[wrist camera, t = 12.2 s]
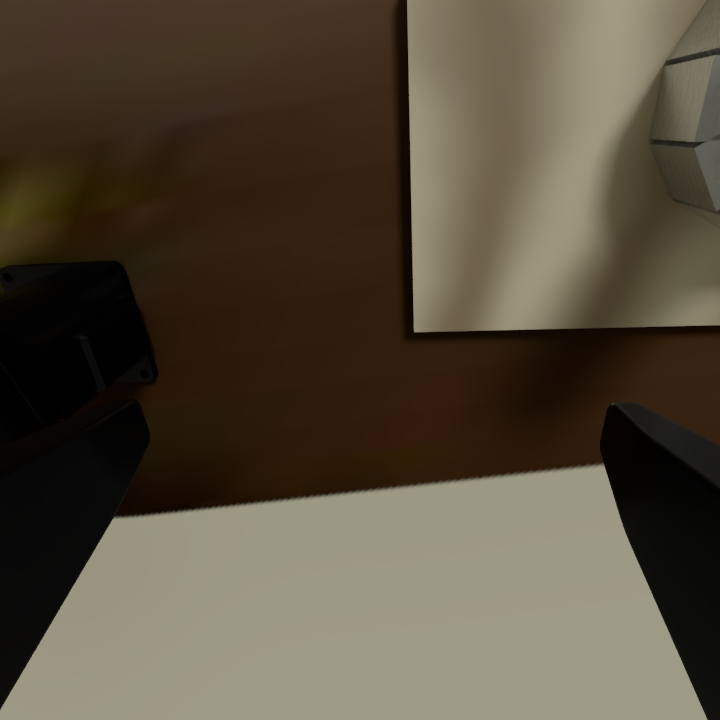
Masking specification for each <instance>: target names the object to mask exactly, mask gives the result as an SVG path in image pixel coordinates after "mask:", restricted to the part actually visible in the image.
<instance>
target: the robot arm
mask: <svg viewBox="0 0 720 720" xmlns="http://www.w3.org/2000/svg"><path fill="white" fill-rule="evenodd" d="M111 268H112V269H113V270H114V271H115V272H116V276H115V275H114V274H112V272H111ZM9 274H10V275H11V276H12V277H13V279H12V278H11V277H10V275H9ZM0 282H1V284H2V286H3V288H4V291H5V293H3V294H1V295H0V709H1V707H2V706H3V704H4V702H5V701H6V699H7V697H8V695H9V694H10V692H11V690H12V689H13V687H14V685H15V684H16V682H17V680H18V679H19V677H20V675H21V673H22V672H23V670H24V668H25V667H26V665H27V663H28V662H29V660H30V658H31V657H32V654H33V653H34V651H35V650H36V648H37V646H38V645H39V643H40V641H41V640H42V638H43V636H44V634H45V633H46V631H47V629H48V628H49V626H50V624H51V623H52V621H53V619H54V618H55V616H56V614H57V613H58V610H59V609H60V607H61V606H62V604H63V602H64V600H65V599H66V597H67V596H68V594H69V592H70V590H71V589H72V587H73V585H74V584H75V582H76V580H77V578H78V577H79V575H80V573H81V572H82V570H83V568H84V567H85V565H86V563H87V562H88V560H89V558H90V557H91V555H92V553H93V552H94V550H95V548H96V546H97V545H98V543H99V541H100V539H101V538H102V536H103V535H104V533H105V531H106V530H107V528H108V526H109V524H110V523H111V521H112V519H113V518H114V516H115V514H116V512H117V510H118V509H119V507H120V505H121V503H122V501H123V499H124V496H125V494H126V492H127V490H128V488H129V486H130V484H131V481H132V479H133V477H134V475H135V473H136V471H137V468H138V466H139V464H140V462H141V460H142V458H143V456H144V453H145V451H146V449H147V447H148V445H149V441H150V432H149V429H148V426H147V423H146V420H145V417H144V414H143V411H142V409H141V406H140V404H139V403H138V402H137V401H136V400H134V399H115V400H112V401H110V402H107V403H105V404H102V405H100V406H98V407H95V408H93V409H90V410H88V411H85V412H83V413H81V414H78V415H76V416H73V415H74V414H75V413H76V412H77V411H78V410H80V409H81V408H82V407H83V406H84V405H85V404H87V403H88V402H89V401H90V400H91V399H92V398H94V397H95V396H96V395H97V394H98V393H99V392H103V391H105V390H106V389H108V388H109V387H110V386H111V385H112V384H113V383H123V382H151V381H152V380H153V379H154V378H155V377H156V376H157V368H156V365H155V362H154V359H153V356H152V353H151V347H150V343H149V340H148V337H147V334H146V331H145V328H144V324H143V321H142V318H141V315H140V312H139V309H138V306H137V305H136V302H135V299H134V296H133V293H132V290H131V287H130V283H129V280H128V277H127V274H126V271H125V269H124V267H123V266H122V265H121V264H120V263H119V262H117V261H93V262H72V263H51V264H30V265H10V266H6V267H4V268H1V269H0ZM144 370H146V371H147V372H148V373H149V374H146V373H145V371H144ZM71 416H73V417H71ZM70 417H71V418H70ZM68 418H69V419H68ZM60 419H66V420H64V421H61V422H59V420H60ZM600 451H601V455H602V459H603V462H604V465H605V468H606V472H607V475H608V478H609V481H610V485H611V488H612V491H613V495H614V498H615V501H616V505H617V508H618V511H619V515H620V518H621V521H622V523H623V527H624V529H625V532H626V534H627V537H628V540H629V542H630V544H631V546H632V549H633V551H634V553H635V556H636V558H637V560H638V563H639V565H640V567H641V569H642V571H643V574H644V576H645V578H646V581H647V583H648V585H649V587H650V590H651V592H652V594H653V597H654V599H655V601H656V603H657V605H658V608H659V610H660V613H661V615H662V617H663V619H664V622H665V624H666V626H667V628H668V630H669V633H670V635H671V637H672V640H673V642H674V644H675V647H676V649H677V651H678V653H679V656H680V658H681V660H682V663H683V665H684V667H685V669H686V671H687V674H688V676H689V678H690V681H691V683H692V685H693V687H694V690H695V692H696V694H697V697H698V699H699V701H700V704H701V706H702V708H703V710H704V712H705V715H706V717H707V719H708V720H720V445H718V444H716V443H714V442H712V441H710V440H708V439H706V438H704V437H702V436H700V435H698V434H696V433H694V432H692V431H690V430H688V429H686V428H685V427H683V426H681V425H679V424H677V423H675V422H673V421H671V420H669V419H667V418H665V417H663V416H661V415H659V414H657V413H655V412H653V411H651V410H649V409H647V408H645V407H643V406H641V405H639V404H637V403H612V404H611V405H609V407H608V409H607V412H606V417H605V421H604V426H603V431H602V435H601V440H600Z"/></svg>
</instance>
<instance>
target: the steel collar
mask: <svg viewBox="0 0 720 720" xmlns="http://www.w3.org/2000/svg"><path fill="white" fill-rule="evenodd" d="M666 61H668V62H669V63H671V64H672V65H669V66H664V67H663V70H662V76H661V81H660V86H659V91H658V96H657V101H656V106H655V111H654V116H653V121H652V126H651V131H650V136H649V139H657V140H655V141H654V142H652V143H650V147H651V150H652V152H653V155H654V158H655V160H656V163H657V166H658V168H659V171H660V174H661V176H662V179H663V181H664V184H665V187H666V189H667V192H668V195H669V197H670V198H673V201H674V202H675V203H677V204H679V205H681V206H682V207H684V208H686V209H687V210H689V211H691V212H693V213H694V214H696V215H698V216H700V217H701V218H703V219H705V220H706V221H708V222H710V223H712V224H713V225H715V226H717V227H719V228H720V0H707V2H706V3H705V4H704V6H703V7H702V9H701V10H700V12H699V13H698V15H697V16H696V18H695V19H694V20H693V22H692V23H691V25H690V26H689V28H688V29H687V31H686V32H685V33H684V35H683V36H682V38H681V39H680V41H679V42H678V44H677V45H676V47H675V48H674V49H673V51H672V52H671V54H670V55H669V57H668V58H667V60H666Z"/></svg>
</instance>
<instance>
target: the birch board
mask: <svg viewBox="0 0 720 720" xmlns="http://www.w3.org/2000/svg"><path fill="white" fill-rule="evenodd" d="M706 2H707V0H407V20H408V68H409V116H410V165H411V213H412V262H413V310H414V332H446V331H490V330H533V329H577V328H620V327H664V326H707V325H720V228H719V227H717V226H715V225H713V224H712V223H710V222H708V221H706V220H705V219H703V218H701V217H700V216H698V215H696V214H694V213H693V212H691V211H689V210H687V209H686V208H684V207H682V206H681V205H679V204H677V203H675V202H674V201H673V198H670V197H669V195H668V192H667V189H666V187H665V184H664V181H663V179H662V176H661V174H660V171H659V168H658V166H657V163H656V160H655V158H654V155H653V152H652V150H651V147H650V143H652V142H654V141H655V140H657V139H649V136H650V131H651V126H652V121H653V116H654V111H655V106H656V101H657V96H658V91H659V86H660V81H661V76H662V70H663V67H664V66H669V65H672V64H671V63H669V62H668V61H666V60H667V58H668V57H669V55H670V54H671V52H672V51H673V49H674V48H675V47H676V45H677V44H678V42H679V41H680V39H681V38H682V36H683V35H684V33H685V32H686V31H687V29H688V28H689V26H690V25H691V23H692V22H693V20H694V19H695V18H696V16H697V15H698V13H699V12H700V10H701V9H702V7H703V6H704V4H705V3H706Z"/></svg>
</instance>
